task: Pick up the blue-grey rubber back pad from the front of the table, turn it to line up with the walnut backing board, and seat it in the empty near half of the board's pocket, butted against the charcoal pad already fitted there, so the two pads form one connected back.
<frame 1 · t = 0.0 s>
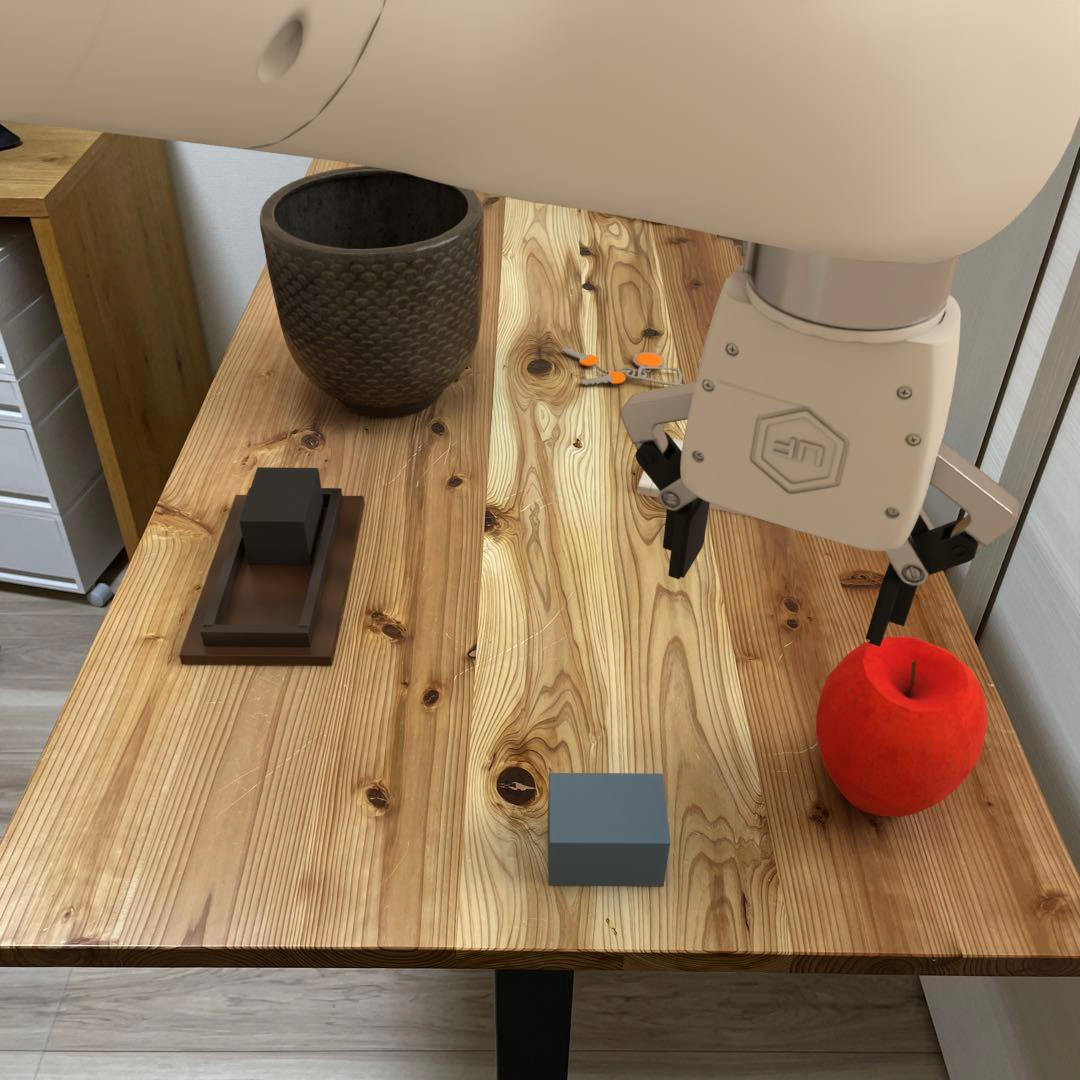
hand: (779, 592, 51), 23 cm above the table, tool pointing down, fingers open, 9 cm apart
cup: (662, 214, 140), on the table
hard drive: (713, 487, 96), on the table
key chain: (619, 372, 110), on the table
pad b: (604, 850, 66), on the table
backing board: (280, 577, 85), on the table
planter: (389, 391, 107), on the table
pad a: (287, 536, 88), point 1 cm above the table, touching backing board
apple: (876, 790, 70), on the table
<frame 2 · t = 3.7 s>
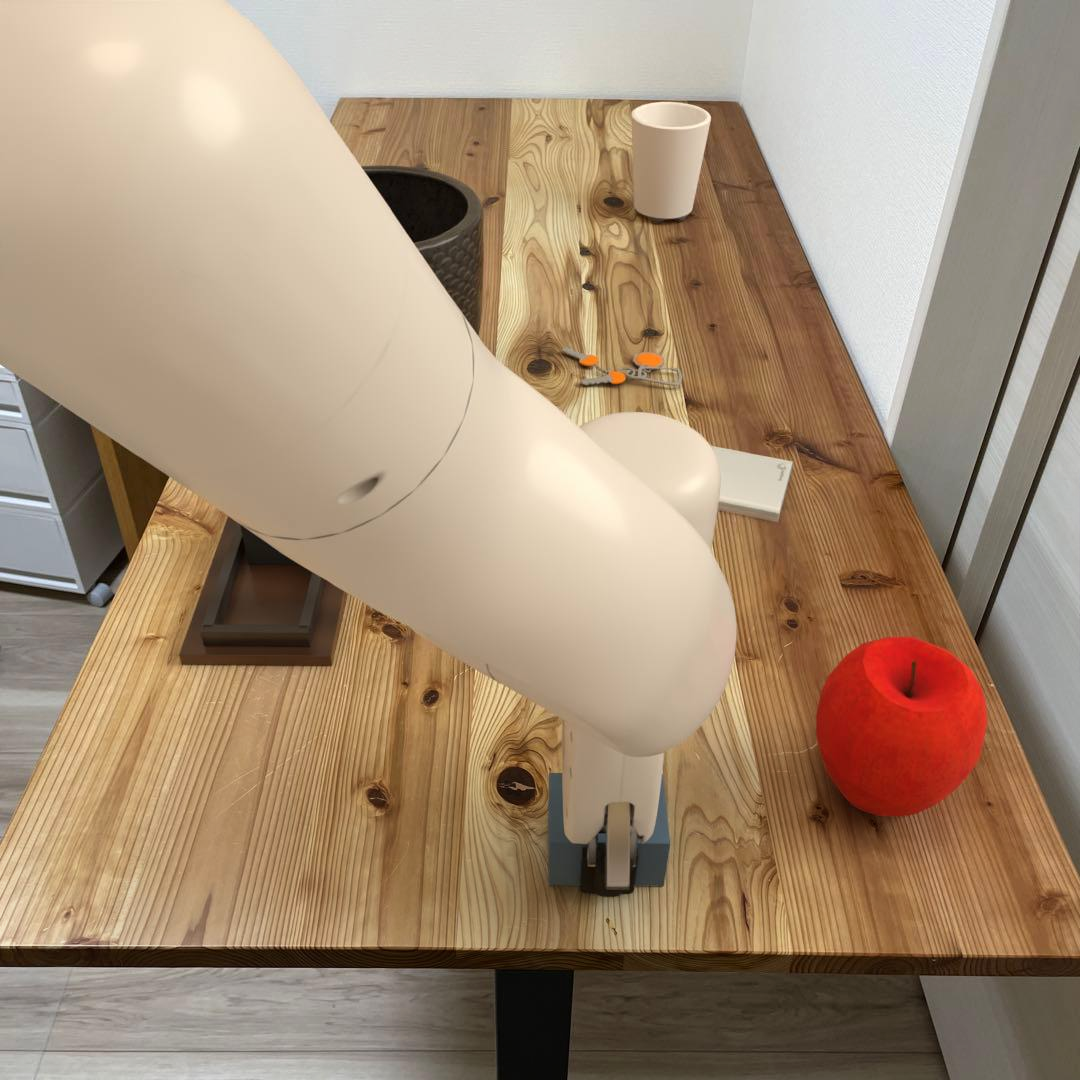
hand: (604, 846, 66), 0 cm above the table, tool pointing down, fingers closed on pad b, 5 cm apart
pad b: (604, 850, 66), on the table, touching gripper
everything else where it was.
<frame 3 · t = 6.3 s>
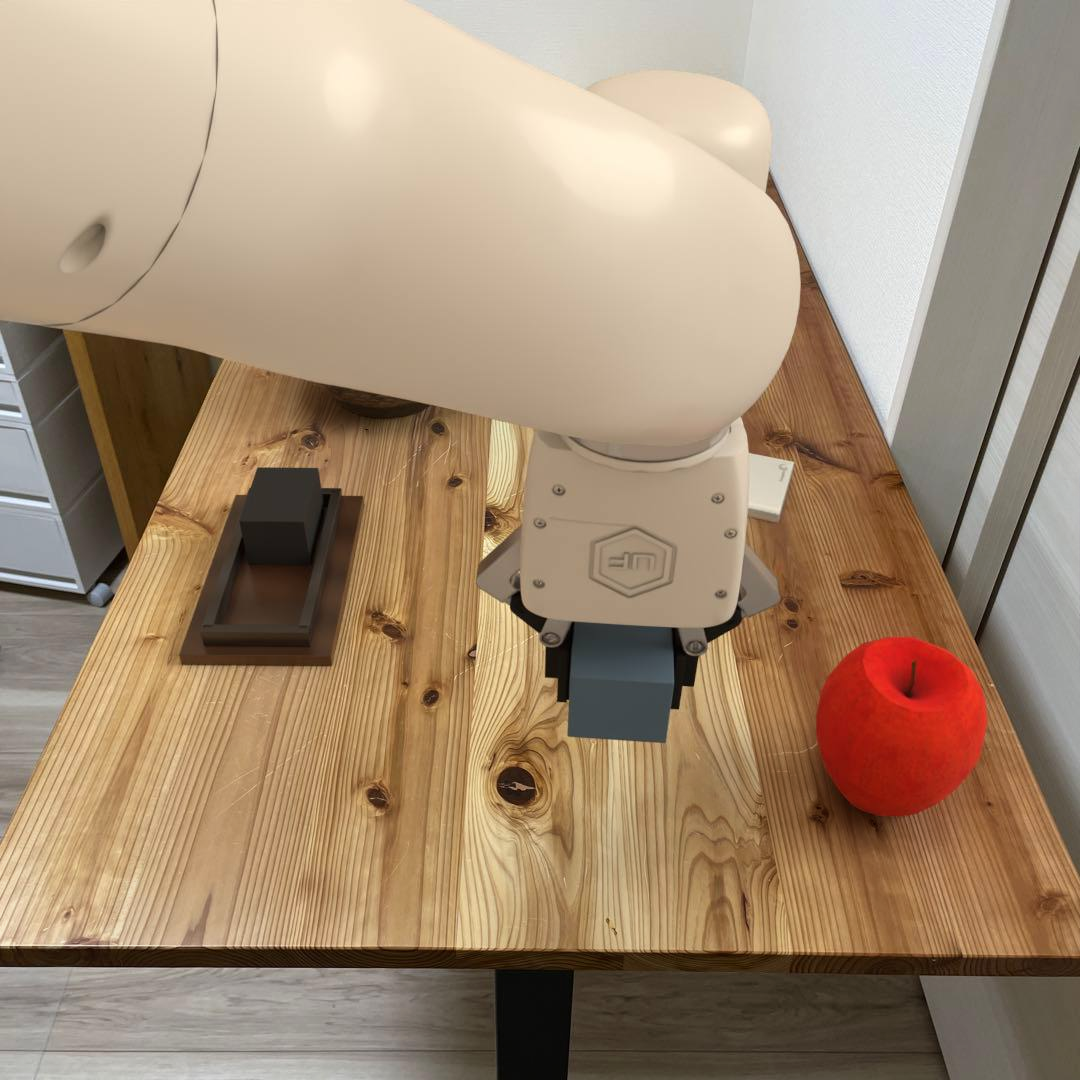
hand: (618, 683, 56), 15 cm above the table, tool pointing down, fingers closed on pad b, 5 cm apart
pad b: (617, 688, 57), point 15 cm above the table, touching gripper
everything else where it was.
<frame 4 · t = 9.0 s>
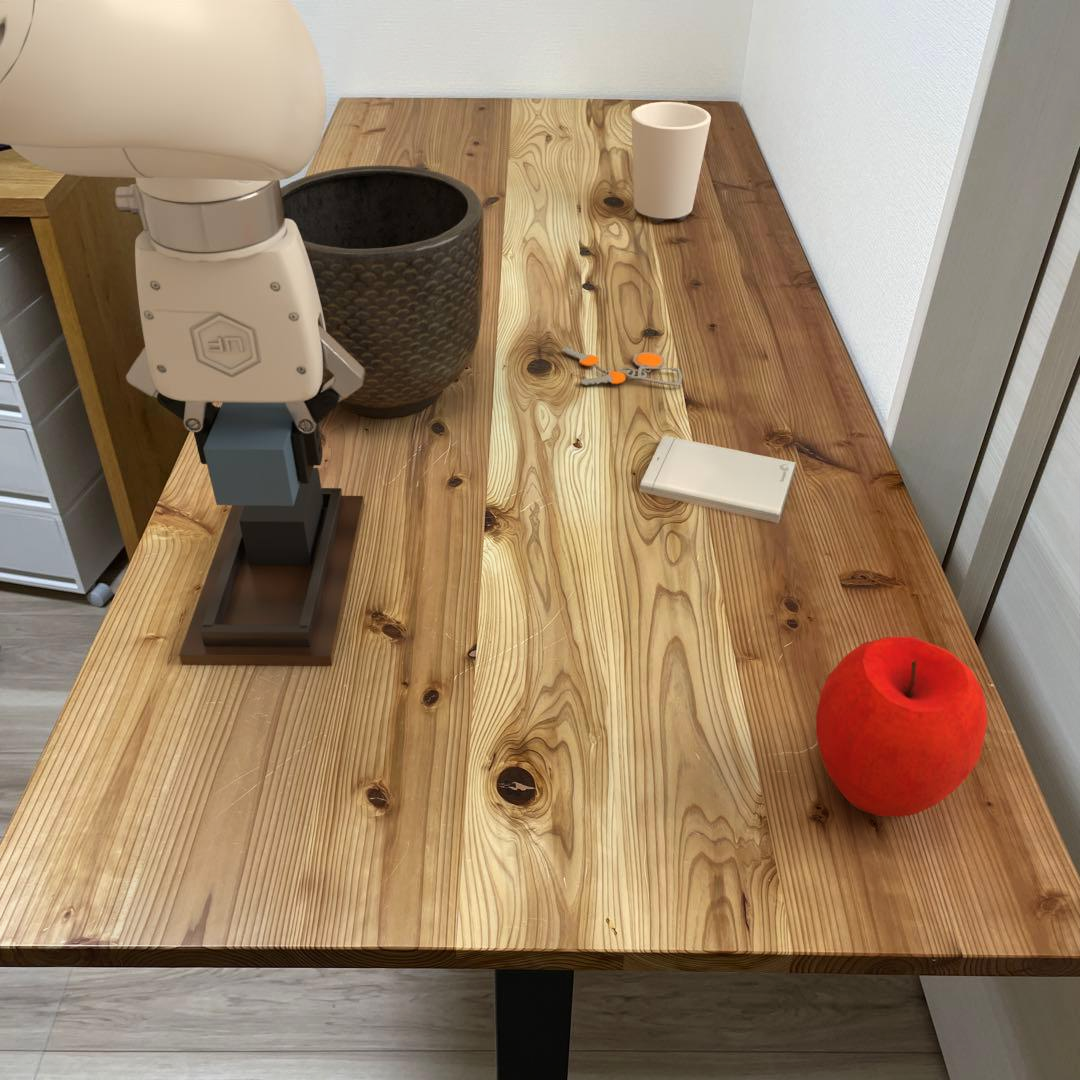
hand: (264, 468, 71), 15 cm above the table, tool pointing down, fingers closed on pad b, 5 cm apart
pad b: (265, 473, 72), point 15 cm above the table, touching gripper
everything else where it was.
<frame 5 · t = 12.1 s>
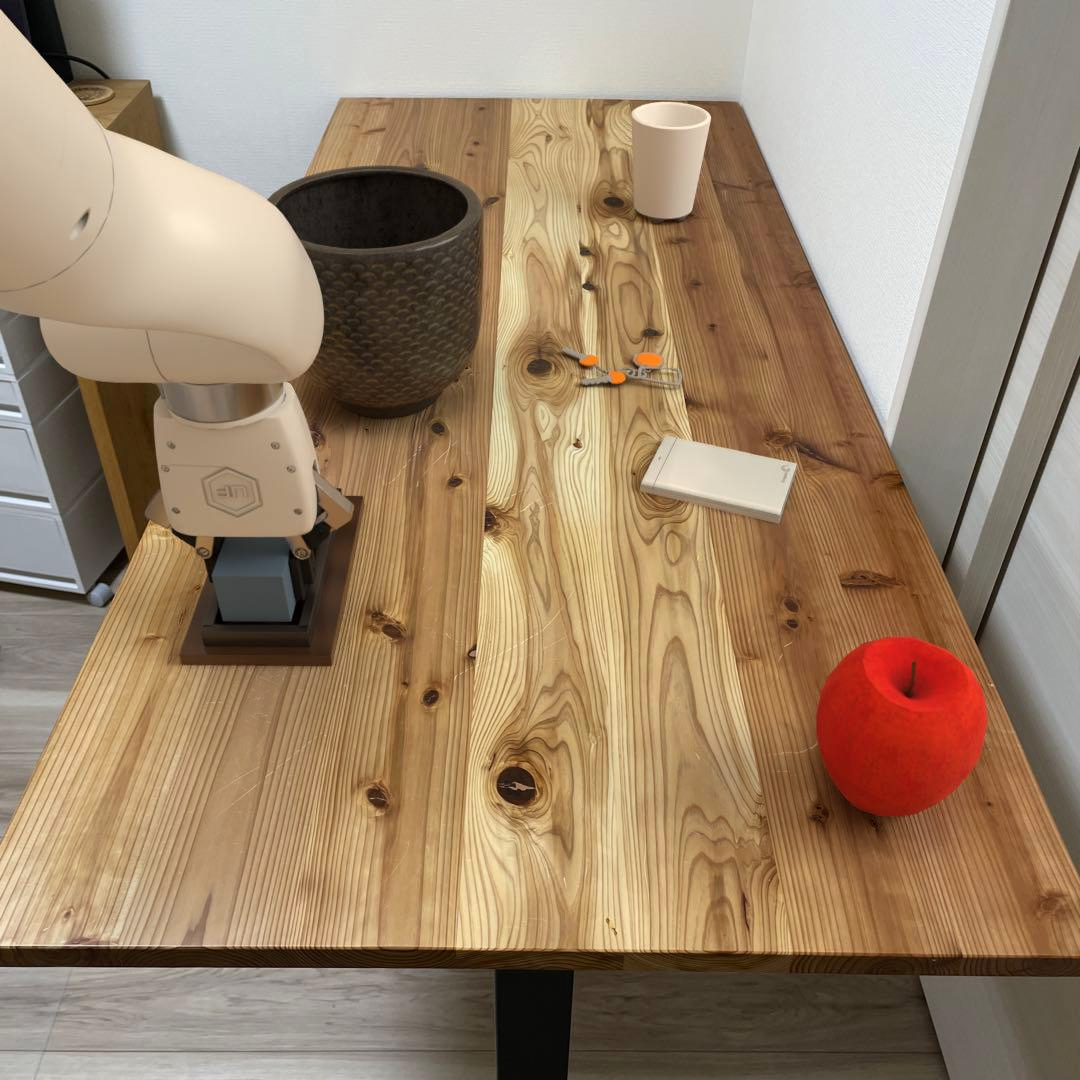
hand: (265, 585, 80), 3 cm above the table, tool pointing down, fingers closed on pad b, 4 cm apart
pad b: (266, 589, 81), point 2 cm above the table, touching gripper
everything else where it was.
when the fingers open (3 cm above the table, at t = 14.6 s): pad b drops 1 cm, resting on backing board.
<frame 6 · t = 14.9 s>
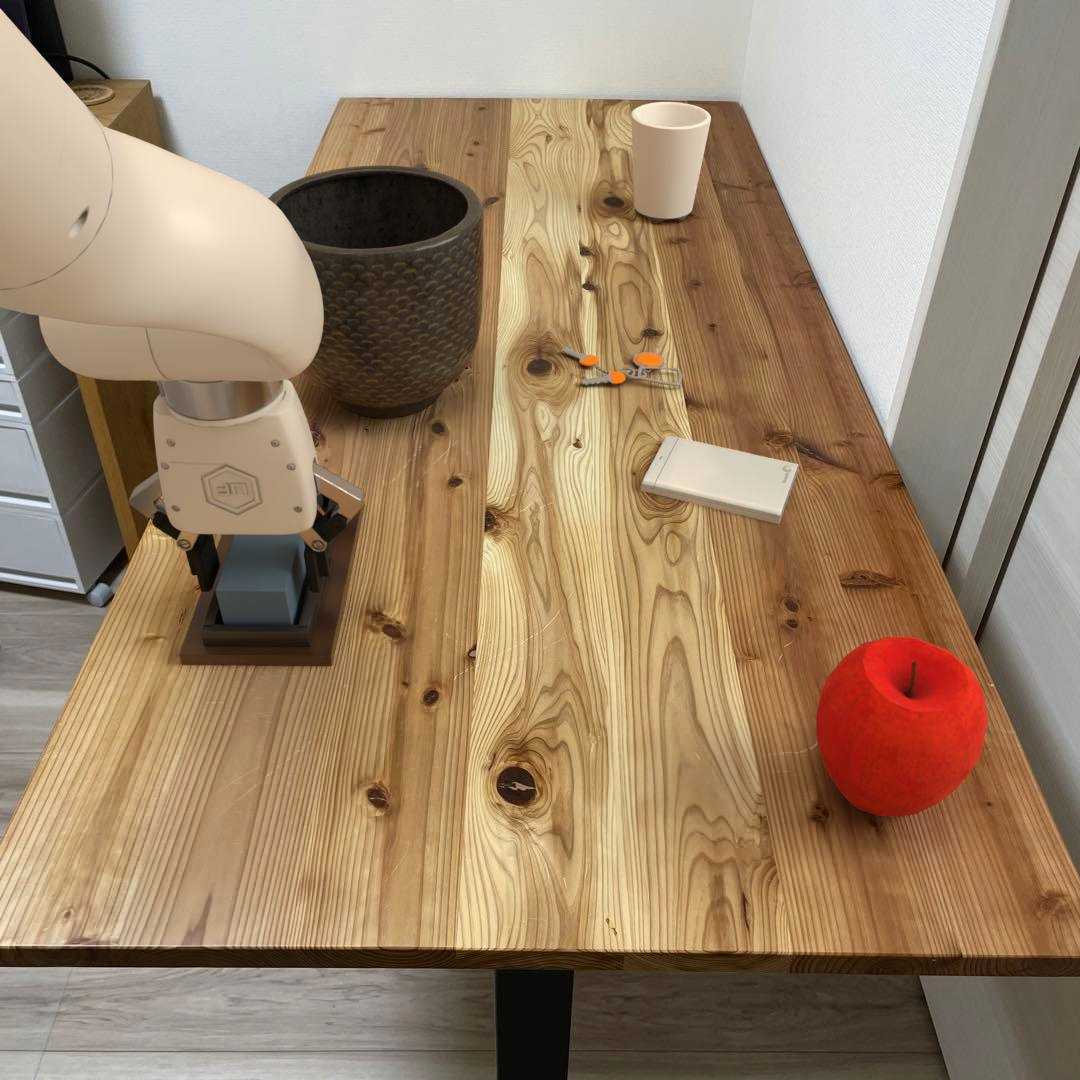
hand: (264, 578, 80), 3 cm above the table, tool pointing down, fingers open, 7 cm apart
pad b: (269, 603, 82), point 1 cm above the table, touching backing board
everything else where it was.
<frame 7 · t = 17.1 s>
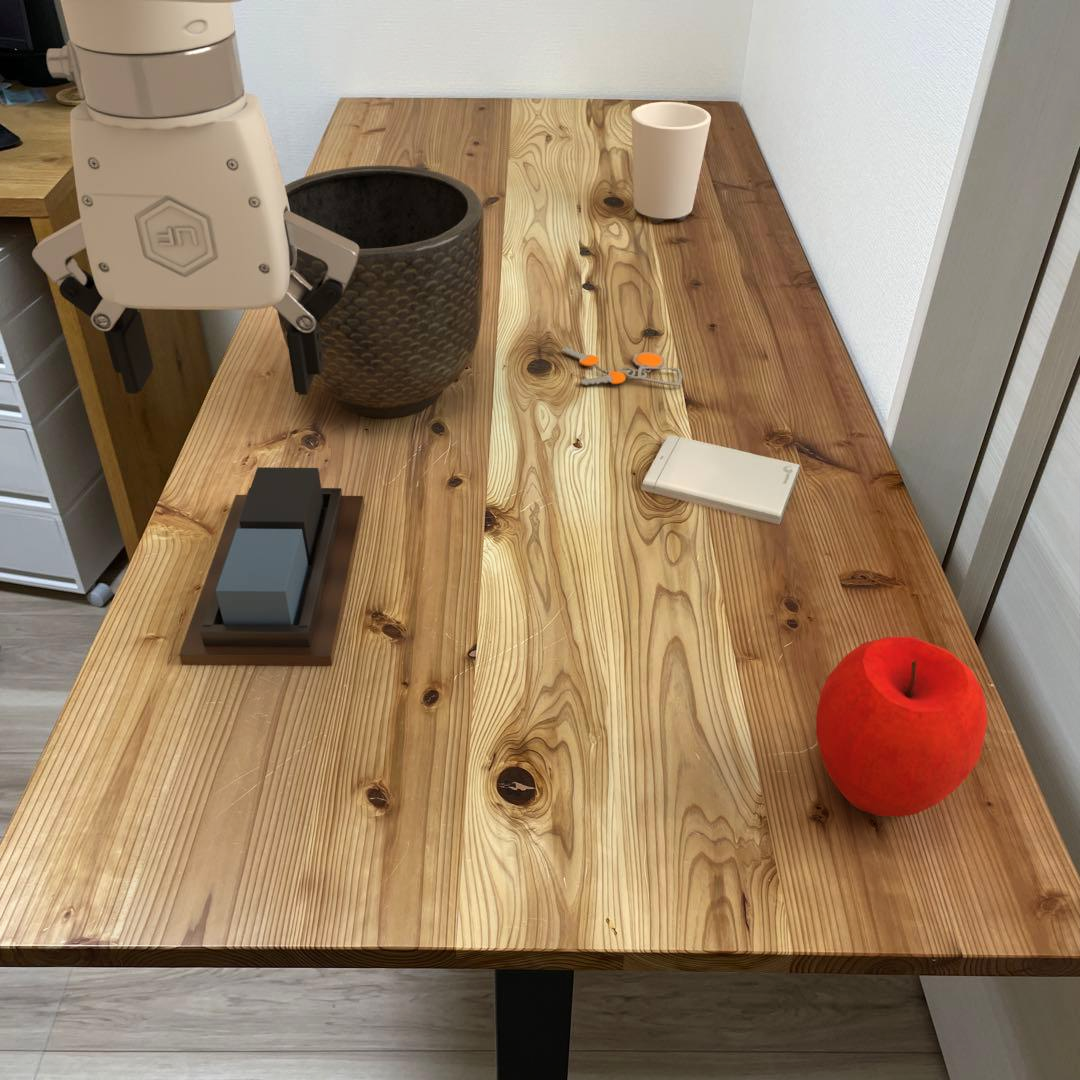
hand: (223, 382, 63), 24 cm above the table, tool pointing down, fingers open, 9 cm apart
nothing on the table moved.
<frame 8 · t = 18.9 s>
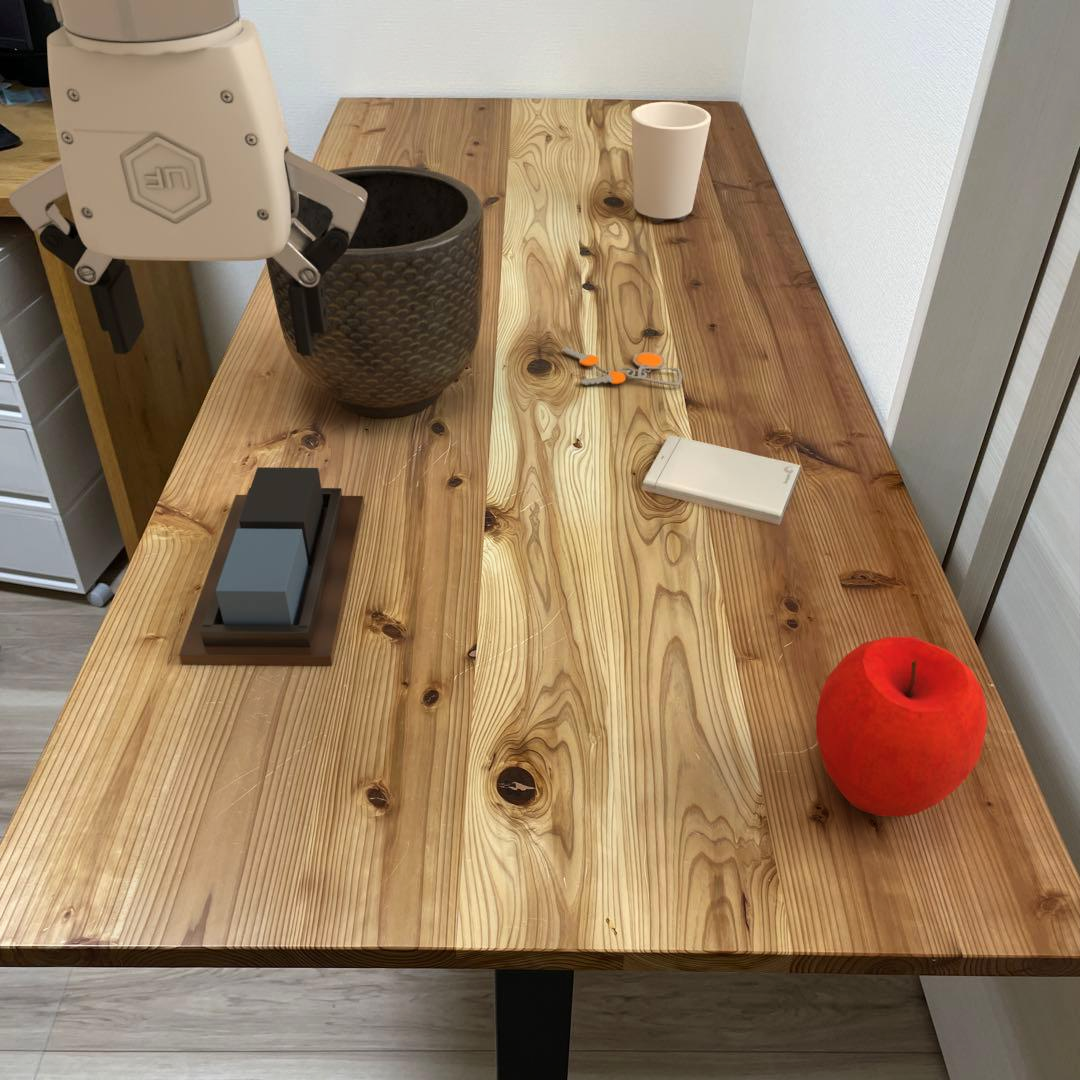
hand: (220, 342, 58), 28 cm above the table, tool pointing down, fingers open, 9 cm apart
nothing on the table moved.
at the end: pad b 0.0 cm from the target spot on the backing board, point 1.0 cm above the backing board's base; pad b 7.9 cm from the pad a (horizontally); pad b tilted 0° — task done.
